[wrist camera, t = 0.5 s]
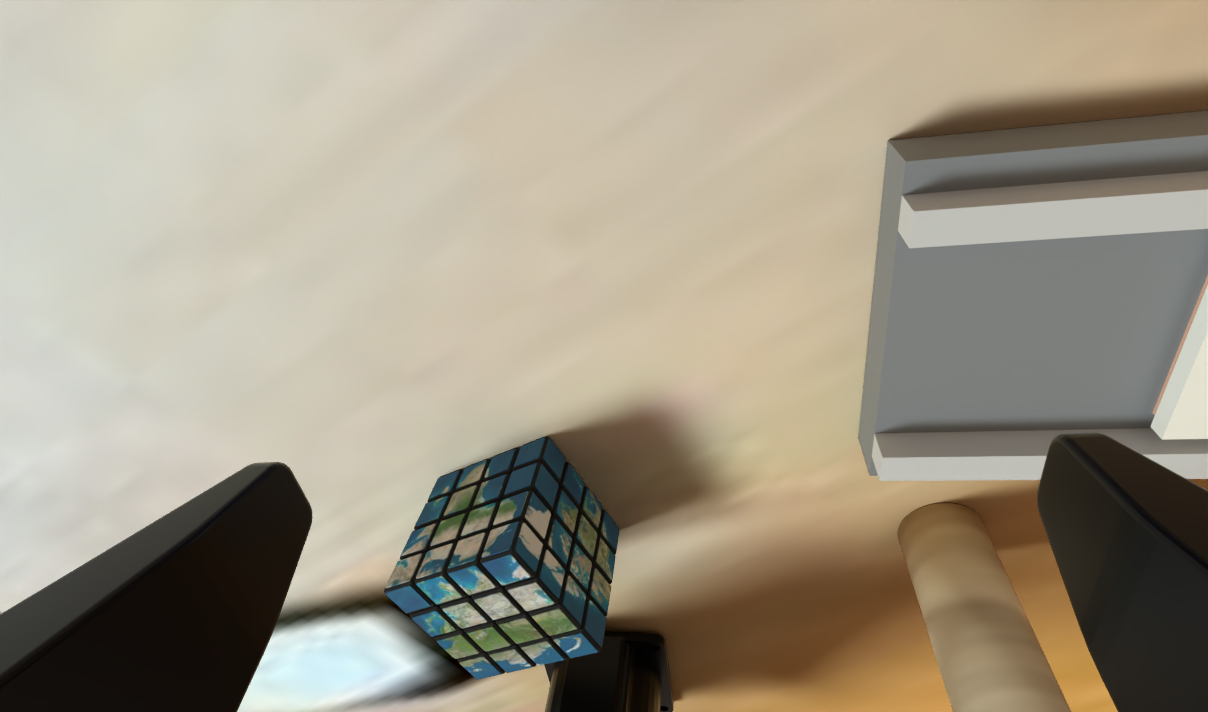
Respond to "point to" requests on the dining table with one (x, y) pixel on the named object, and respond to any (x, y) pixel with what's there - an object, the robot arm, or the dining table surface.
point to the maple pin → (975, 615)
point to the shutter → (1187, 386)
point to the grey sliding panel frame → (1033, 295)
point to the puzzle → (510, 563)
